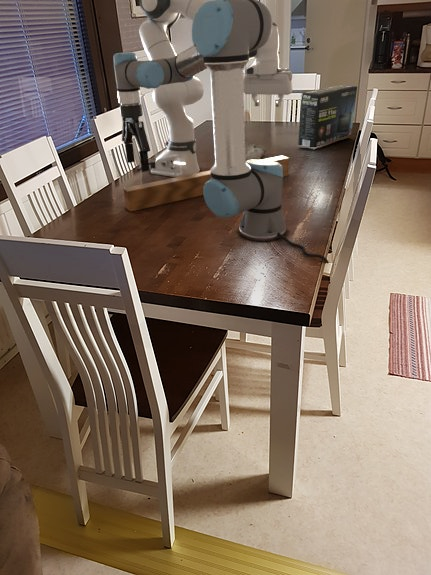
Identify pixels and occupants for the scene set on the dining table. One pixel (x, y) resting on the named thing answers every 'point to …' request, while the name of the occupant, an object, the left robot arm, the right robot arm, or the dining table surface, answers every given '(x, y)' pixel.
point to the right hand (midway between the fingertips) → (138, 166)
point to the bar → (175, 188)
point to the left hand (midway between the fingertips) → (267, 106)
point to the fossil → (253, 151)
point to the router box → (326, 115)
